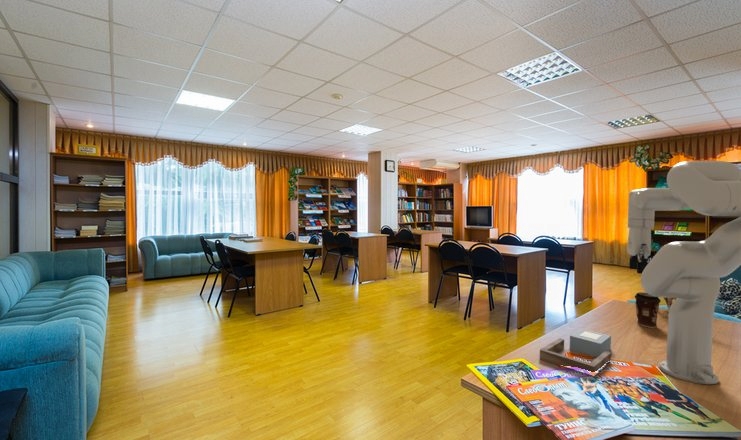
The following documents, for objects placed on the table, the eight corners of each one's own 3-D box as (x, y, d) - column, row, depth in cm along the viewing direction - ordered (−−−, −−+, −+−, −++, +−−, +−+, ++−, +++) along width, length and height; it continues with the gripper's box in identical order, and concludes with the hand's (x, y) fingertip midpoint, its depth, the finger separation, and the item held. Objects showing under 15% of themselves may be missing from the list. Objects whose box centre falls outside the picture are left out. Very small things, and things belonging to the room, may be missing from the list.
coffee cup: (628, 323, 145) (629, 292, 145) (640, 320, 149) (641, 290, 148) (652, 329, 137) (654, 297, 137) (664, 327, 141) (665, 295, 140)
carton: (581, 342, 124) (581, 328, 124) (610, 350, 117) (611, 335, 117) (569, 350, 117) (570, 335, 117) (600, 359, 110) (600, 343, 110)
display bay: (559, 346, 119) (559, 338, 119) (610, 361, 108) (610, 352, 108) (539, 359, 109) (539, 349, 109) (593, 377, 98) (594, 366, 97)
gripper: (621, 222, 134) (620, 266, 134) (634, 224, 118) (632, 274, 119) (645, 223, 131) (643, 268, 131) (662, 225, 115) (659, 276, 115)
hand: (638, 271), depth 125 cm, fingers open, 9 cm apart
